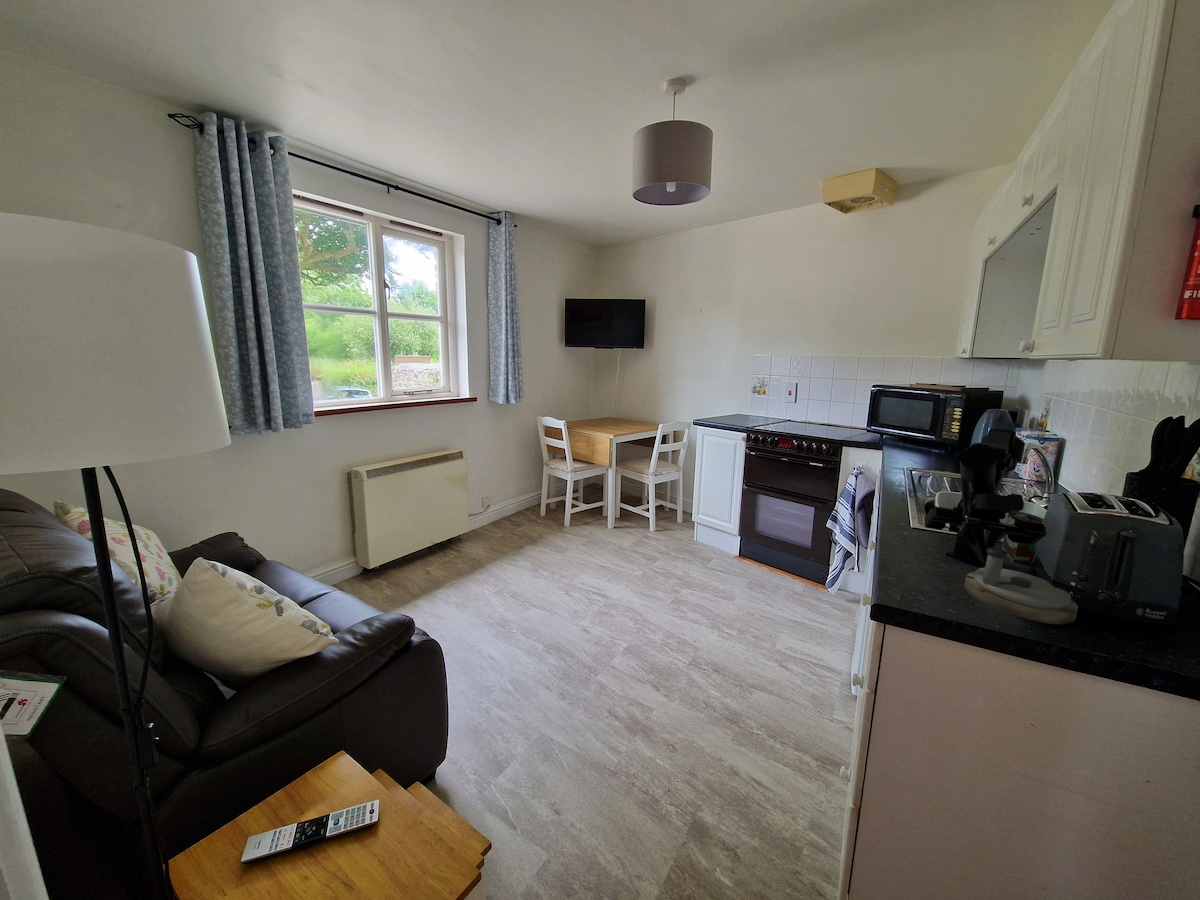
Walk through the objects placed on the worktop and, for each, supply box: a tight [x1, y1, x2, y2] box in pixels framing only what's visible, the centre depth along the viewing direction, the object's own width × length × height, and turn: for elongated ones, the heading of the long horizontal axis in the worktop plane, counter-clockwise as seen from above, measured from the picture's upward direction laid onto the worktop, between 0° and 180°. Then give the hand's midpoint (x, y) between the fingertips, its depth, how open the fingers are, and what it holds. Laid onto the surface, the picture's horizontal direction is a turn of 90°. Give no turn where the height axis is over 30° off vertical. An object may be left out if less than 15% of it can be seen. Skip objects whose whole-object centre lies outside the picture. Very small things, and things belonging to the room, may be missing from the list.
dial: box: [974, 547, 1072, 609], centre depth 88 cm, size 14×14×8 cm
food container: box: [1001, 511, 1044, 564], centre depth 108 cm, size 12×6×10 cm, turn 151°
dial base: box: [963, 571, 1079, 625], centre depth 89 cm, size 16×16×2 cm
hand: (985, 563), depth 90 cm, fingers closed, pressing on dial
